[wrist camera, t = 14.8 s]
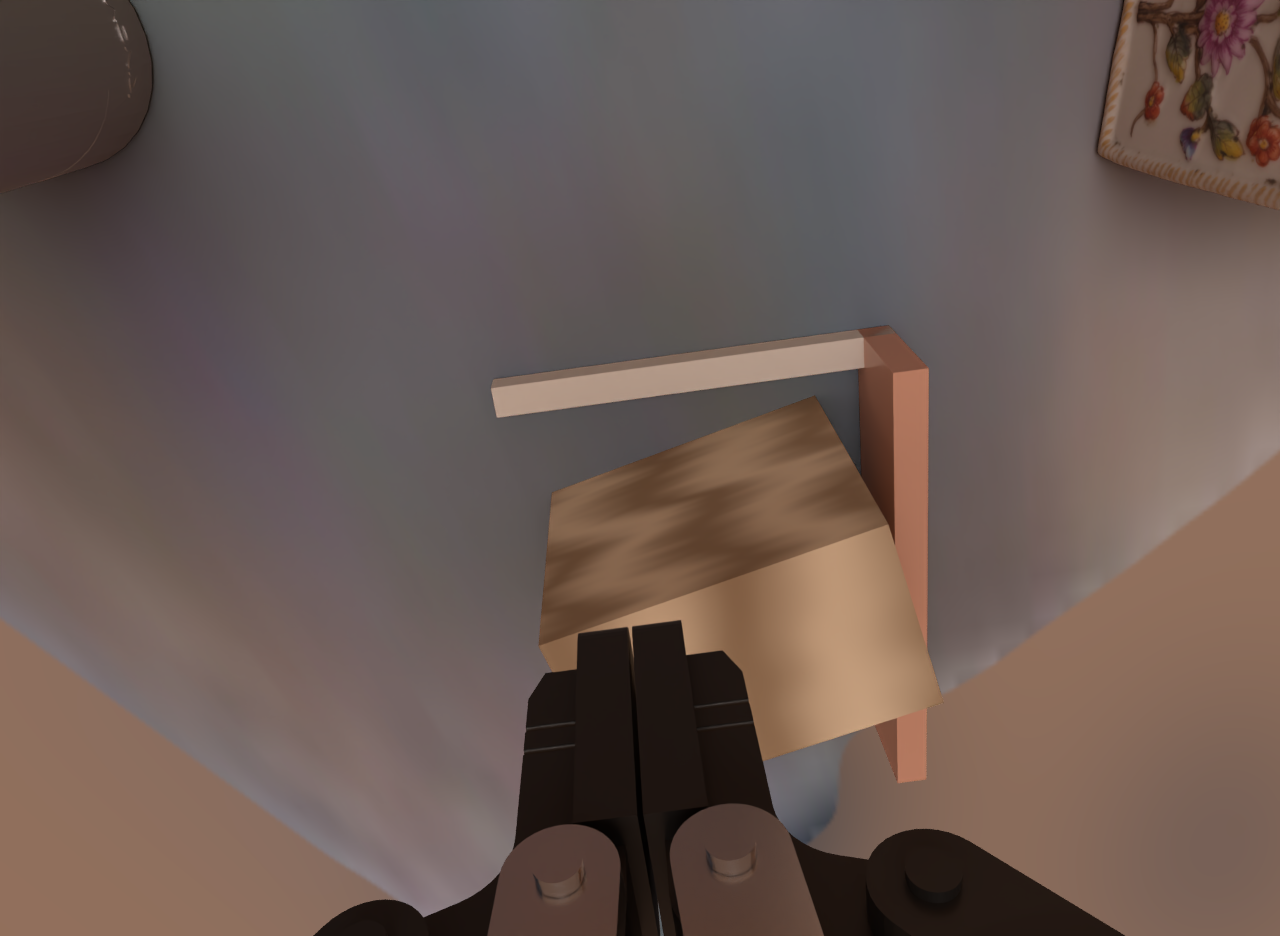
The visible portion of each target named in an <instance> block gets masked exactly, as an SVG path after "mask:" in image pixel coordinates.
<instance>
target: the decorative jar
mask: <svg viewBox="0 0 1280 936" xmlns="http://www.w3.org/2000/svg"><path fill="white" fill-rule="evenodd" d="M1098 153H1099V155H1101V156H1102V157H1104V158H1106V159H1108V160H1111V161H1112V162H1114V163H1117V164H1119V165H1123V166H1126V167H1129V168H1131V169H1134V170H1138V171H1140V172H1143V173H1148V174H1150V175H1153V176H1156V177H1159V178H1162V179H1165V180H1170V181H1172V182H1175V183H1180V184H1182V185H1186V186H1190V187H1194V188H1199V189H1201V190H1207V191H1210V192H1214V193H1217V194H1220V195H1223V196H1226V197H1231V198H1235V199H1239V200H1244V201H1247V202H1252V203H1255V204H1257V205H1263V206H1265V207H1270V208H1273V209H1278V210H1280V0H1124V7H1123V12H1122V17H1121V23H1120V27H1119V32H1118V37H1117V42H1116V48H1115V51H1114V55H1113V63H1112V67H1111V72H1110V80H1109V84H1108V91H1107V96H1106V104H1105V110H1104V117H1103V121H1102V128H1101V133H1100V138H1099V146H1098Z"/></svg>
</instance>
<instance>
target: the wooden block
mask: <svg viewBox="0 0 1280 936" xmlns="http://www.w3.org/2000/svg"><path fill="white" fill-rule="evenodd" d="M677 620H681V622H682V629H683V636H684V643H685V650H686V655H690V654H698V653H706V652H713V651H721V650H723V651H724V652H725V653H726V654H727V655H728V657H729V658H730V659H731V660H732V661H733V662H734V663H735V664H736V665H737V666H738V667H739V668H740V669H741V670H742V671H743V676H744V680H745V685H746V689H747V694H748V698H749V703H750V707H751V711H752V716H753V721H754V726H755V729H756V734H757V738H758V743H759V747H760V751H761V756H762V760H763V761H765V760H768V759H771V758H774V757H777V756H780V755H783V754H786V753H789V752H793V751H796V750H799V749H802V748H805V747H808V746H811V745H814V744H817V743H820V742H824V741H827V740H830V739H833V738H836V737H839V736H842V735H845V734H848V733H852V732H855V731H858V730H861V729H864V728H867V727H870V726H873V725H876V724H879V723H883V722H886V721H889V720H892V719H895V718H898V717H901V716H904V715H907V714H910V713H914V712H917V711H920V710H923V709H926V708H929V707H932V706H935V705H938V704H941V703H943V699H942V696H941V692H940V689H939V686H938V683H937V679H936V676H935V673H934V670H933V667H932V663H931V660H930V657H929V654H928V650H927V647H926V644H925V641H924V638H923V634H922V631H921V628H920V625H919V621H918V618H917V615H916V612H915V609H914V605H913V602H912V599H911V596H910V592H909V589H908V586H907V583H906V579H905V576H904V573H903V570H902V567H901V563H900V560H899V557H898V554H897V550H896V547H895V544H894V541H893V538H892V534H891V531H890V528H889V525H888V523H887V521H886V519H885V518H884V516H883V514H882V512H881V511H880V509H879V507H878V505H877V504H876V502H875V500H874V498H873V497H872V495H871V493H870V491H869V490H868V488H867V486H866V484H865V483H864V481H863V479H862V477H861V476H860V474H859V472H858V470H857V469H856V467H855V465H854V463H853V462H852V460H851V458H850V456H849V455H848V453H847V451H846V449H845V448H844V446H843V444H842V442H841V441H840V439H839V437H838V435H837V434H836V432H835V430H834V428H833V427H832V425H831V423H830V421H829V420H828V418H827V416H826V414H825V413H824V411H823V409H822V407H821V406H820V404H819V402H818V400H817V399H816V397H815V396H812V397H810V398H807V399H804V400H801V401H799V402H796V403H793V404H791V405H788V406H785V407H782V408H780V409H777V410H774V411H772V412H769V413H766V414H763V415H761V416H758V417H755V418H753V419H750V420H747V421H744V422H742V423H739V424H736V425H734V426H731V427H728V428H726V429H723V430H720V431H717V432H715V433H712V434H709V435H707V436H704V437H701V438H698V439H696V440H693V441H690V442H688V443H685V444H682V445H679V446H677V447H674V448H671V449H669V450H666V451H663V452H660V453H658V454H655V455H652V456H650V457H647V458H644V459H641V460H639V461H636V462H633V463H631V464H628V465H625V466H623V467H620V468H617V469H614V470H612V471H609V472H606V473H604V474H601V475H598V476H595V477H593V478H590V479H587V480H585V481H582V482H579V483H576V484H574V485H571V486H568V487H566V488H563V489H560V490H557V491H555V492H552V498H551V510H550V521H549V533H548V544H547V555H546V567H545V578H544V590H543V601H542V612H541V624H540V635H539V648H540V650H541V652H542V653H543V655H544V657H545V659H546V661H547V663H548V665H549V666H550V668H551V670H552V672H559V671H567V670H574V669H577V639H578V633H584V632H592V631H599V630H607V629H614V628H622V627H628V629H629V633H630V639H631V645H632V651H633V640H632V626H639V625H646V624H654V623H661V622H669V621H677ZM633 657H634V656H633Z"/></svg>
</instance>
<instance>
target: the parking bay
mask: <svg viewBox="0 0 1280 936" xmlns="http://www.w3.org/2000/svg"><path fill="white" fill-rule="evenodd" d="M852 369H858V375H859V410H860V446H861V477H862V479H863V481H864V483H865V484H866V486H867V488H868V490H869V491H870V493H871V495H872V497H873V498H874V500H875V502H876V504H877V505H878V507H879V509H880V511H881V512H882V514H883V516H884V518H885V519H886V521H887V523H888V525H889V528H890V531H891V534H892V538H893V541H894V544H895V547H896V550H897V554H898V557H899V560H900V563H901V567H902V570H903V573H904V576H905V579H906V583H907V586H908V589H909V592H910V596H911V599H912V602H913V605H914V609H915V612H916V615H917V618H918V621H919V625H920V628H921V631H922V634H923V638H924V641H925V644H926V647H927V567H928V403H929V368H928V367H927V366H926V365H925V364H924V363H923V362H922V361H921V359H920V358H919V357H918V356H917V355H916V354H915V353H914V352H913V351H912V350H911V349H910V348H909V347H908V346H907V345H906V343H905V342H904V341H903V340H902V339H901V338H900V337H899V336H898V335H897V334H896V333H895V332H894V331H893V330H892V328H891V327H890V326H889V325H888V326H880V327H873V328H866V329H858V330H851V331H844V332H836V333H829V334H822V335H814V336H807V337H800V338H792V339H785V340H778V341H770V342H763V343H756V344H749V345H741V346H734V347H727V348H719V349H712V350H705V351H697V352H690V353H683V354H675V355H668V356H661V357H653V358H646V359H639V360H631V361H624V362H617V363H609V364H602V365H595V366H587V367H580V368H573V369H565V370H558V371H551V372H543V373H536V374H529V375H521V376H514V377H507V378H499V379H493V382H492V386H491V391H492V396H493V401H494V405H495V410H496V415H497V418H498V417H506V416H513V415H521V414H528V413H535V412H543V411H550V410H557V409H565V408H572V407H579V406H587V405H594V404H602V403H609V402H616V401H624V400H631V399H638V398H646V397H653V396H660V395H668V394H675V393H683V392H690V391H697V390H705V389H712V388H719V387H727V386H734V385H741V384H749V383H756V382H763V381H771V380H778V379H786V378H793V377H800V376H808V375H815V374H822V373H830V372H837V371H844V370H852ZM926 721H927V708H926V709H923V710H920V711H917V712H914V713H910V714H907V715H904V716H901V717H898V718H895V719H892V720H889V721H886V722H883V723H879V724H876V725H875V727H876V729H877V732H878V734H879V737H880V739H881V742H882V744H883V747H884V750H885V752H886V754H887V757H888V760H889V762H890V765H891V767H892V770H893V772H894V775H895V777H896V780H897V782H898V783H901V782H902V783H903V782H910V781H918V780H926V732H927V724H926Z"/></svg>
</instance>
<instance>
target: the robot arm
mask: <svg viewBox="0 0 1280 936" xmlns="http://www.w3.org/2000/svg"><path fill="white" fill-rule="evenodd" d="M151 90H152V65H151V58H150V53H149V49H148V45H147V40H146V36H145V33H144V31H143V29H142V26H141V24H140V22H139V19H138V17H137V15H136V12H135V10H134V8H133V7H132V5H131V4H130V2H129V1H128V0H0V194H1V193H4V192H7V191H11V190H14V189H17V188H20V187H23V186H27V185H30V184H33V183H37V182H41V181H44V180H47V179H51V178H54V177H57V176H60V175H63V174H67V173H70V172H73V171H76V170H79V169H83V168H86V167H89V166H91V165H94V164H97V163H99V162H102V161H104V160H107V159H109V158H110V157H111V156H113V155H114V154H116V153H117V152H118V151H120V150H121V149H123V148H124V147H125V146H126V145H127V144H128V142H129V141H130V140H131V139H132V137H133V136H134V135H135V134H136V133H137V131H138V130H139V128H140V126H141V123H142V121H143V119H144V117H145V115H146V113H147V110H148V106H149V100H150V95H151ZM632 640H633V651H632V645H631V639H630V633H629V629H628V627H622V628H614V629H607V630H599V631H592V632H584V633H578V639H577V669H574V670H567V671H559V672H551V673H545V675H544V676H543V678H542V679H541V681H540V682H539V684H538V685H537V687H536V689H535V690H534V692H533V693H532V695H531V696H530V698H529V700H528V710H527V721H526V732H525V742H524V755H523V763H522V774H521V784H520V795H519V806H518V816H517V827H516V837H515V843H514V848H513V851H512V852H511V853H510V854H509V856H508V857H507V859H506V860H505V862H504V864H503V866H502V868H501V872H500V873H499V874H498V875H497V876H496V878H495V879H494V880H493V881H492V882H491V883H489V884H488V885H487V886H486V887H485V888H483V889H482V890H481V891H479V892H478V893H476V894H475V895H473V896H471V897H470V898H468V899H466V900H463V901H461V902H459V903H457V904H455V905H452V906H450V907H448V908H445V909H443V910H440V911H438V912H436V913H433V914H431V915H428V916H426V917H424V918H423V917H422V915H421V914H420V913H419V912H418V911H417V910H416V909H415V908H413V907H412V906H410V905H408V904H406V903H404V902H400V901H396V900H375V901H370V902H366V903H363V904H360V905H357V906H354V907H352V908H350V909H348V910H346V911H344V912H342V913H341V914H339V915H338V916H336V917H335V918H333V919H332V920H330V921H329V922H328V923H327V924H326V925H325V926H323V927H322V928H321V929H320V930H319V931H318V932H317V933H316V934H315V935H314V936H660V923H659V909H660V915H661V921H662V927H663V933H664V936H1125V935H1123V934H1121V933H1120V932H1118V931H1117V930H1115V929H1113V928H1111V927H1110V926H1108V925H1107V924H1105V923H1103V922H1102V921H1100V920H1098V919H1097V918H1095V917H1093V916H1092V915H1090V914H1088V913H1087V912H1085V911H1083V910H1082V909H1080V908H1079V907H1077V906H1075V905H1074V904H1072V903H1070V902H1069V901H1067V900H1065V899H1064V898H1062V897H1060V896H1059V895H1057V894H1055V893H1054V892H1052V891H1051V890H1049V889H1047V888H1046V887H1044V886H1042V885H1041V884H1039V883H1037V882H1035V881H1034V880H1032V879H1031V878H1029V877H1027V876H1025V875H1024V874H1022V873H1021V872H1019V871H1018V870H1016V869H1014V868H1012V867H1011V866H1009V865H1008V864H1006V863H1004V862H1003V861H1001V860H999V859H998V858H996V857H994V856H993V855H991V854H990V853H988V852H986V851H985V850H983V849H981V848H980V847H978V846H976V845H975V844H973V843H971V842H970V841H968V840H965V839H964V838H962V837H960V836H957V835H954V834H952V833H949V832H944V831H940V830H933V829H914V830H909V831H904V832H900V833H898V834H895V835H893V836H891V837H889V838H887V839H886V840H884V841H883V842H882V843H880V844H879V845H878V846H877V847H876V849H875V850H874V851H873V852H872V854H871V856H870V858H869V860H867V859H860V858H854V857H847V856H840V855H835V854H830V853H825V852H822V851H819V850H816V849H814V848H812V847H810V846H808V845H806V844H804V843H802V842H800V841H799V840H798V839H796V838H795V837H793V836H792V835H791V834H790V833H789V832H788V831H787V829H786V828H785V827H784V825H783V824H782V823H781V822H780V821H779V820H778V818H777V816H776V814H775V811H774V808H773V805H772V800H771V796H770V791H769V787H768V783H767V778H766V774H765V769H764V765H763V760H762V756H761V751H760V747H759V743H758V738H757V734H756V729H755V726H754V721H753V716H752V711H751V707H750V703H749V698H748V694H747V689H746V685H745V680H744V676H743V671H742V670H741V669H740V668H739V667H738V666H737V665H736V664H735V663H734V662H733V661H732V660H731V659H730V658H729V657H728V655H727V654H726V653H725V652H724V651H723V650H721V651H713V652H706V653H698V654H690V655H686V650H685V643H684V636H683V629H682V622H681V620H677V621H669V622H661V623H654V624H646V625H639V626H632ZM633 656H634V657H633ZM658 904H659V909H658Z"/></svg>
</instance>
